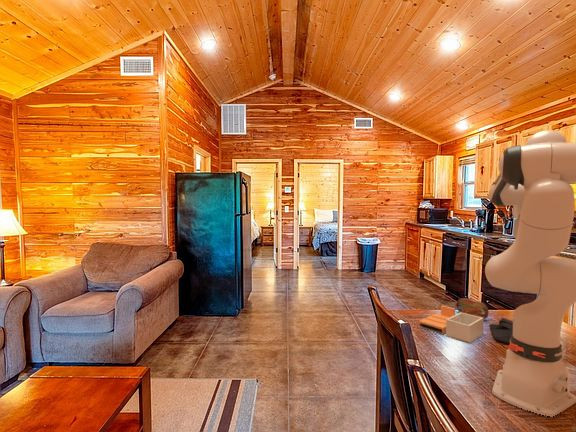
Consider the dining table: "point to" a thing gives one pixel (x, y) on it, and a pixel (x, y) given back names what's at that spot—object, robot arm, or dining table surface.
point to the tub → (464, 327)
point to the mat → (433, 329)
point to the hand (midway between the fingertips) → (526, 248)
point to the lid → (439, 318)
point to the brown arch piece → (472, 307)
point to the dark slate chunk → (502, 330)
